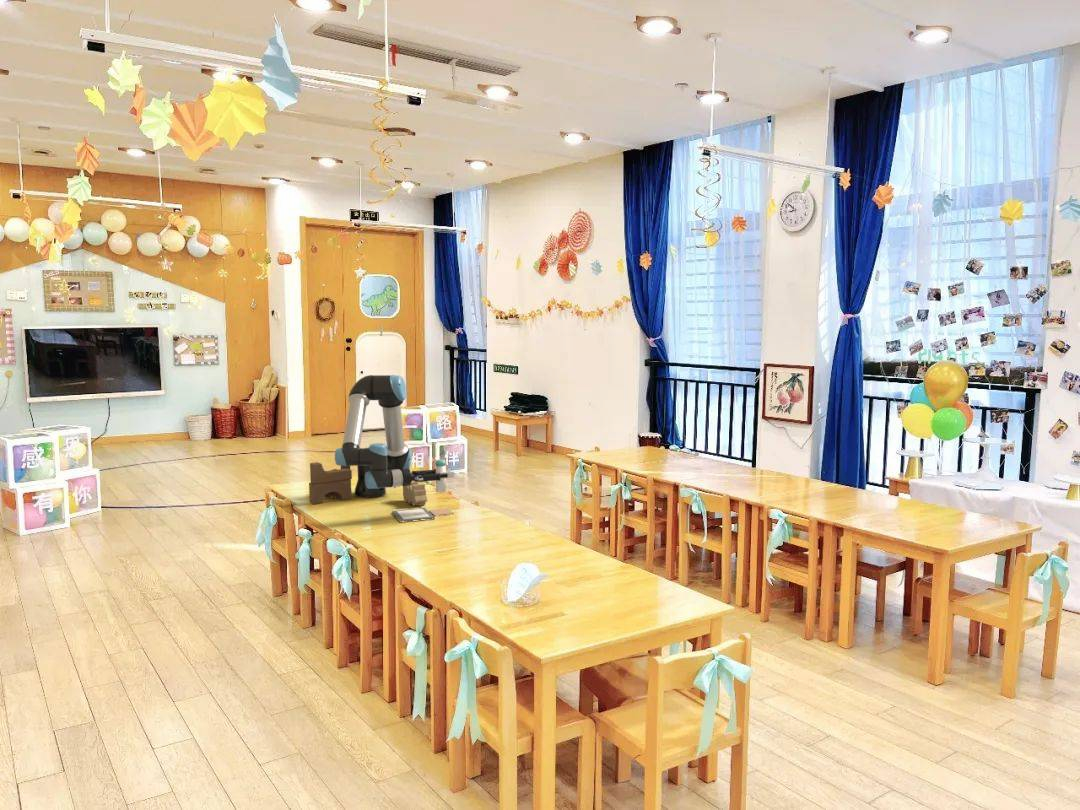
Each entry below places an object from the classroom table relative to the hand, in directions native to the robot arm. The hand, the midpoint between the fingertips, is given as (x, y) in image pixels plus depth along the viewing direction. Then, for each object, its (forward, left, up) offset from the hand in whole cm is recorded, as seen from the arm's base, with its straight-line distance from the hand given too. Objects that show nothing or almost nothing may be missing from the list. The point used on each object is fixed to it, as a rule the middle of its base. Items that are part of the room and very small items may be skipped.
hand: (452, 473), depth 358 cm
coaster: (0, -5, -18) cm, 18 cm away
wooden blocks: (-49, -47, -18) cm, 70 cm away
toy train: (-22, -12, -18) cm, 31 cm away
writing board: (0, -18, -18) cm, 25 cm away
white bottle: (0, -5, -8) cm, 9 cm away
